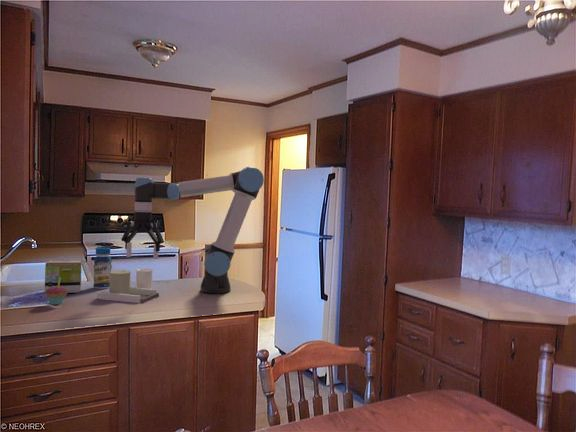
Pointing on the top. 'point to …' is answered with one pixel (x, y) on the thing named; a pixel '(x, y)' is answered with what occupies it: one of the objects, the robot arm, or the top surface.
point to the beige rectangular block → (120, 282)
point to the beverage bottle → (102, 268)
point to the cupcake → (56, 294)
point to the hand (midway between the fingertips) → (142, 257)
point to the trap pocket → (149, 297)
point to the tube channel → (127, 295)
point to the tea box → (63, 274)
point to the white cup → (144, 278)
